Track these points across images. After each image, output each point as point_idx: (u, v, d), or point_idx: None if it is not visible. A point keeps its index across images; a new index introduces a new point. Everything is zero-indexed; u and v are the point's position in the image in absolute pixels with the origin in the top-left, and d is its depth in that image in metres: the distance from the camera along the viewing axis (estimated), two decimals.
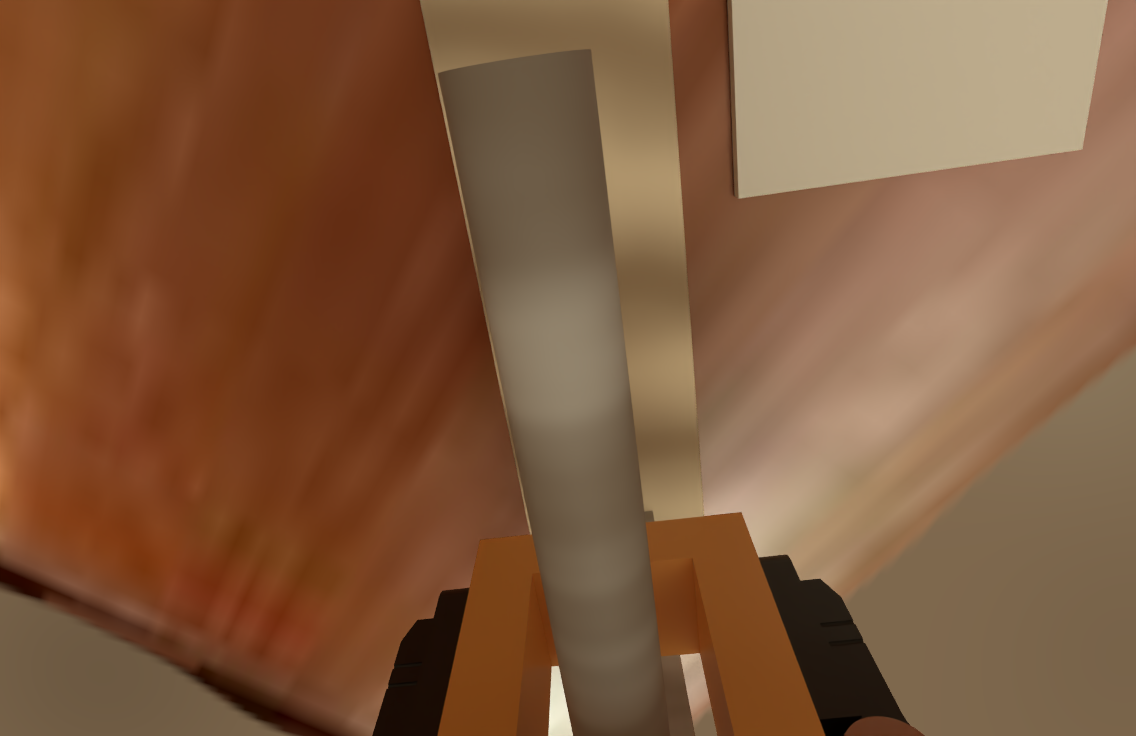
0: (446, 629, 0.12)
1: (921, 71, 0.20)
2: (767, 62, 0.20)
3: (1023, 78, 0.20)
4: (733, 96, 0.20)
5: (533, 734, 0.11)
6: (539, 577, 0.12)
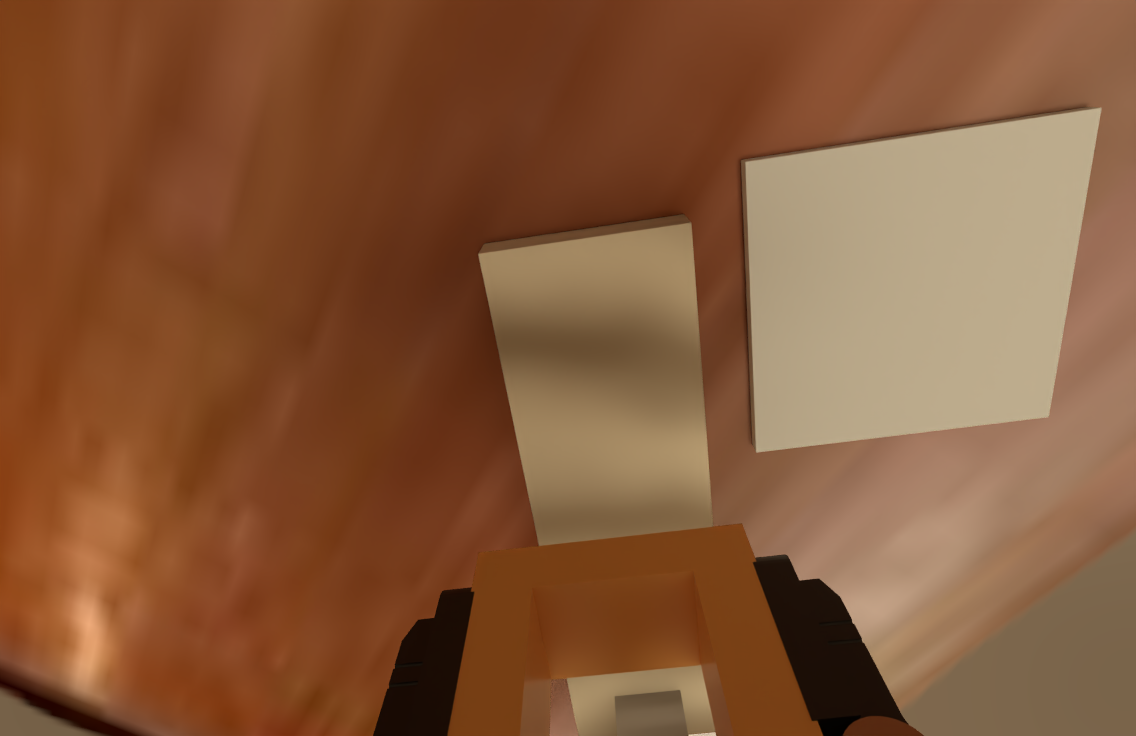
0: (447, 629, 0.12)
1: (911, 362, 0.23)
2: (780, 355, 0.23)
3: (997, 366, 0.24)
4: (751, 377, 0.24)
5: None
6: (539, 591, 0.12)
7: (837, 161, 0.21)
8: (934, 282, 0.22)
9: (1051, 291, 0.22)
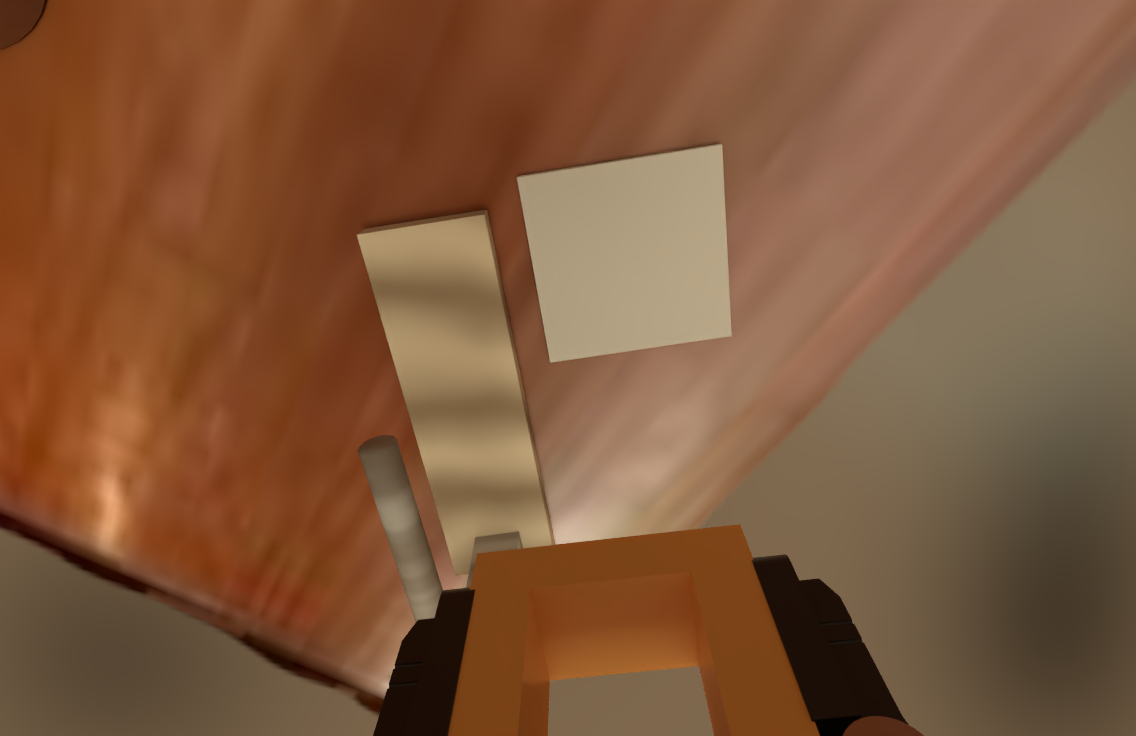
0: (447, 629, 0.12)
1: (638, 301, 0.37)
2: (556, 298, 0.37)
3: (692, 303, 0.37)
4: None
5: None
6: (537, 592, 0.12)
7: (571, 176, 0.34)
8: (643, 250, 0.36)
9: (715, 254, 0.36)
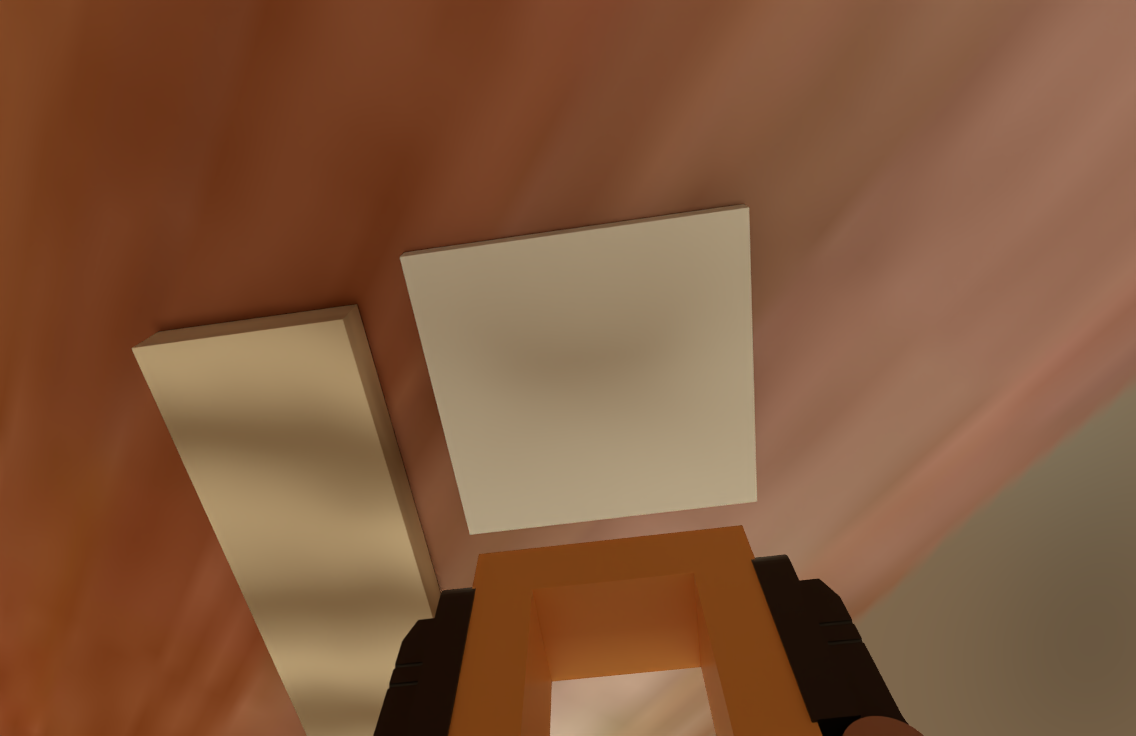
0: (447, 629, 0.12)
1: (608, 449, 0.23)
2: (475, 443, 0.23)
3: (695, 453, 0.23)
4: None
5: None
6: (539, 593, 0.12)
7: (492, 256, 0.20)
8: (615, 373, 0.22)
9: (734, 382, 0.22)
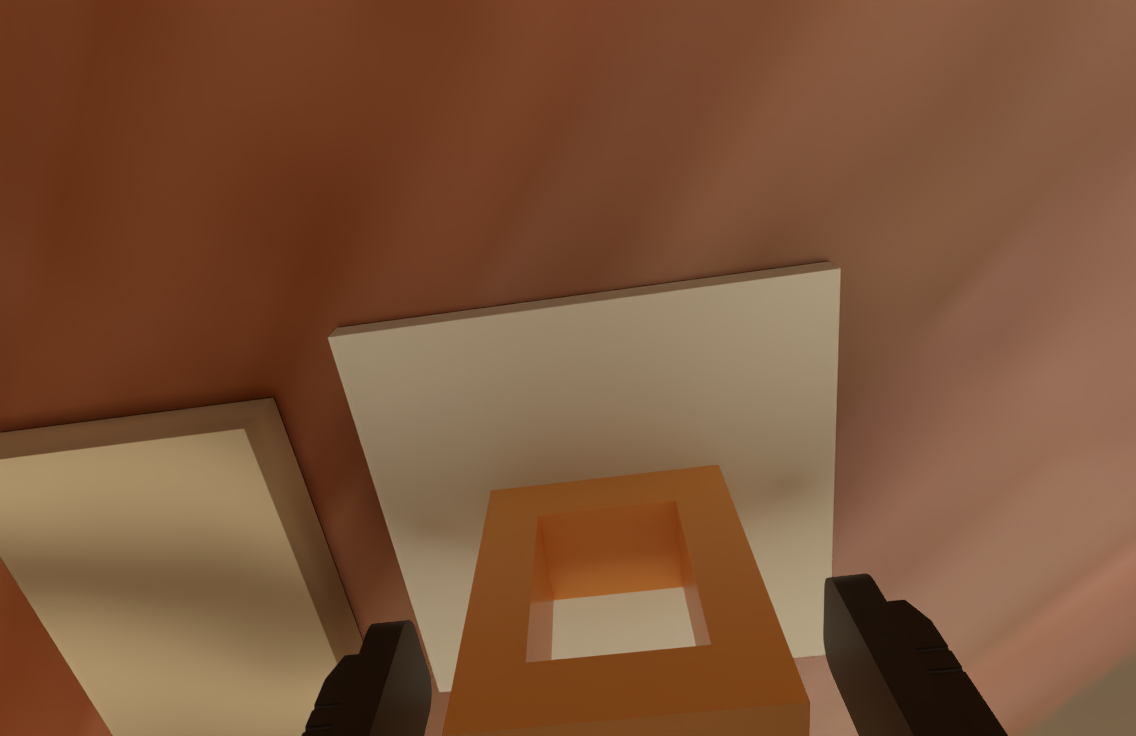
0: (369, 668, 0.11)
1: None
2: (443, 581, 0.17)
3: None
4: None
5: (540, 643, 0.13)
6: (543, 519, 0.14)
7: (462, 337, 0.14)
8: None
9: (806, 505, 0.16)
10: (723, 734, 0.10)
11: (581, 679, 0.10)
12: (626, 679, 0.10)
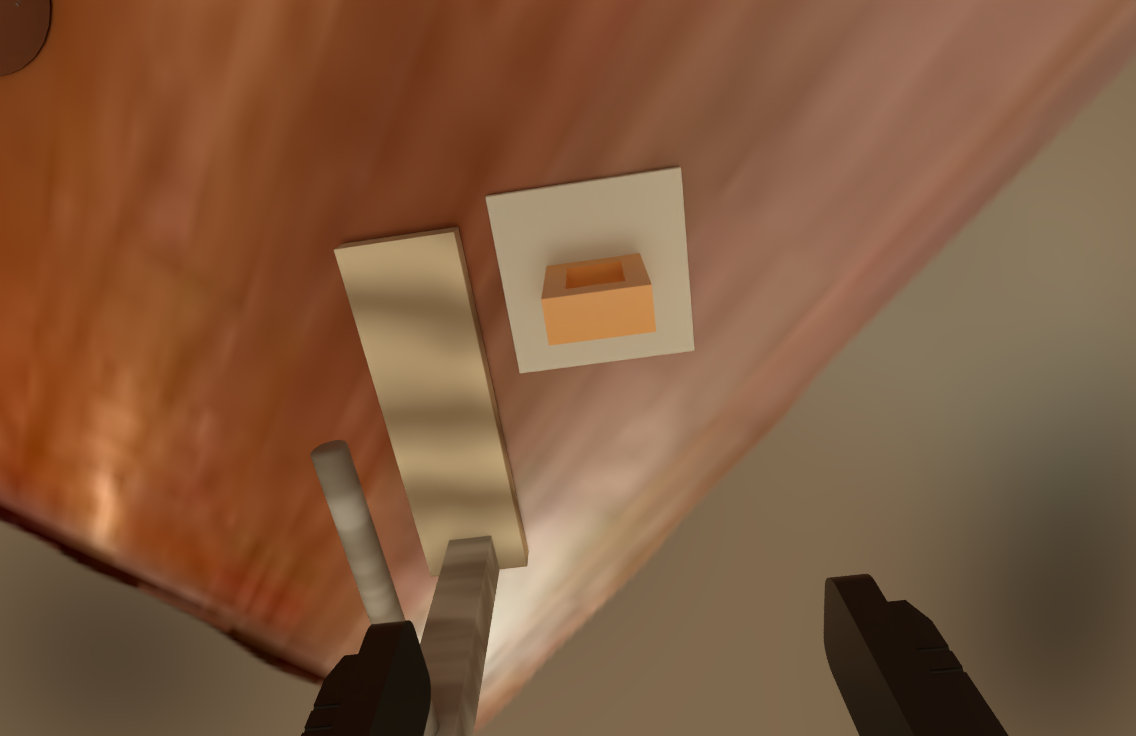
0: (369, 668, 0.11)
1: None
2: (524, 311, 0.39)
3: (655, 318, 0.39)
4: (511, 325, 0.39)
5: None
6: (569, 270, 0.37)
7: (537, 196, 0.36)
8: None
9: (677, 272, 0.38)
10: (626, 298, 0.32)
11: (583, 289, 0.32)
12: (597, 287, 0.32)
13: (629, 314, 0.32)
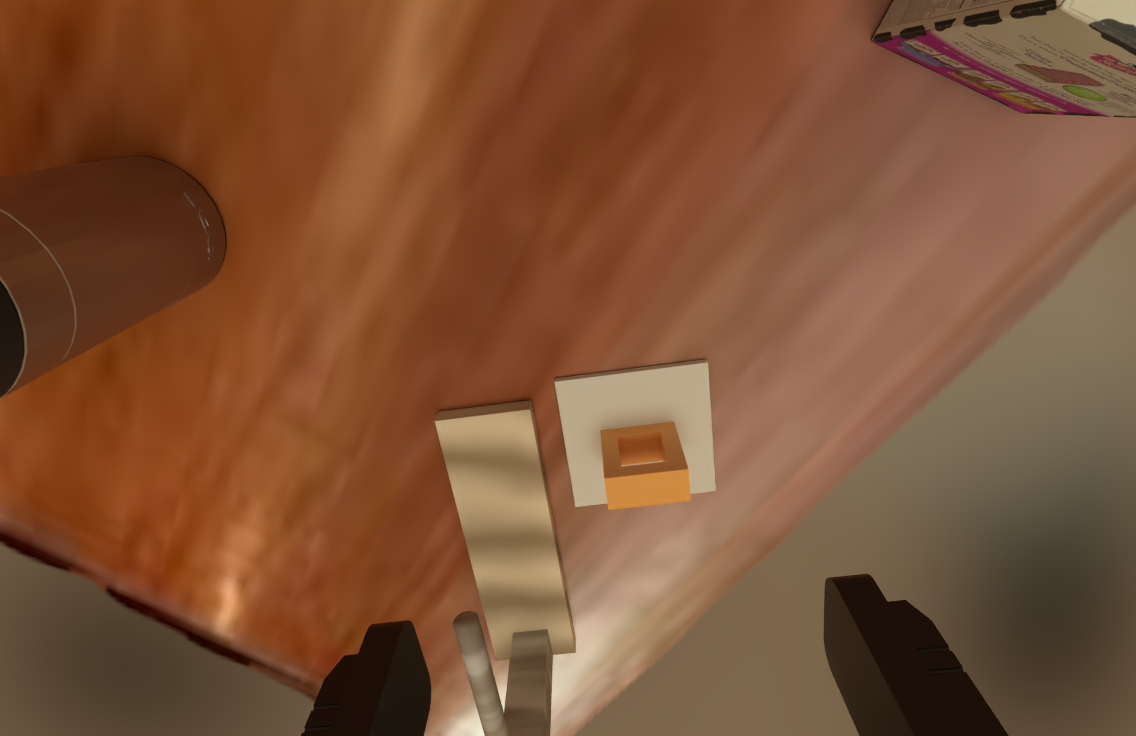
0: (369, 668, 0.11)
1: None
2: (581, 462, 0.49)
3: None
4: None
5: None
6: (619, 437, 0.47)
7: (595, 381, 0.46)
8: None
9: (703, 435, 0.48)
10: (669, 478, 0.42)
11: (635, 468, 0.42)
12: (646, 468, 0.42)
13: (670, 489, 0.42)
